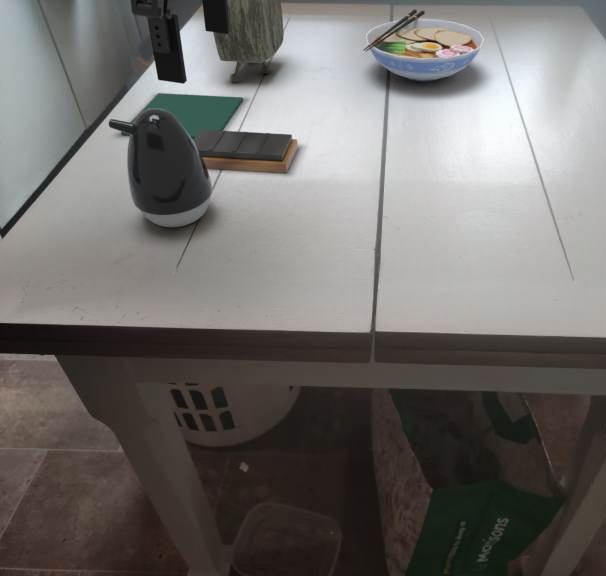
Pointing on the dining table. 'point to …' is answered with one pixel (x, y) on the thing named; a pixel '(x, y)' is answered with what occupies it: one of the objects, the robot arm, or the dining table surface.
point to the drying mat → (196, 110)
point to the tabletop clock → (251, 33)
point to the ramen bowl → (423, 47)
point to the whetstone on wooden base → (246, 150)
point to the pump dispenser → (165, 169)
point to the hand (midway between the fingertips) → (196, 54)
